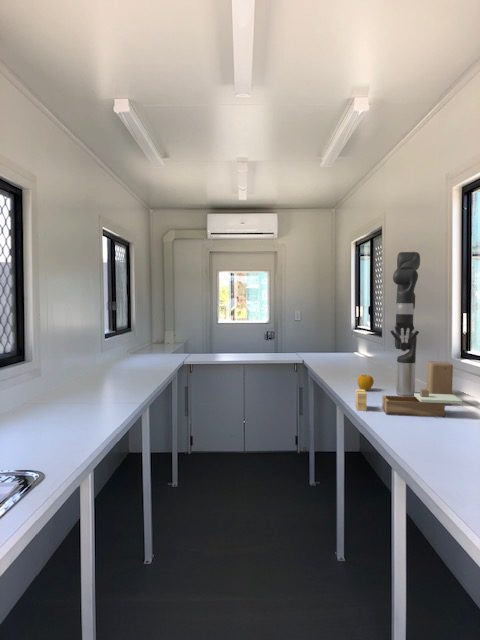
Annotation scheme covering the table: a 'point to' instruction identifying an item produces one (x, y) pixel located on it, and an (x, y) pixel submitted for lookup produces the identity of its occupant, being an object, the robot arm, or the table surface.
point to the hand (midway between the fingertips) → (403, 350)
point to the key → (361, 400)
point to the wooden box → (411, 407)
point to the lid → (436, 397)
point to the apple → (365, 382)
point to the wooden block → (439, 378)
